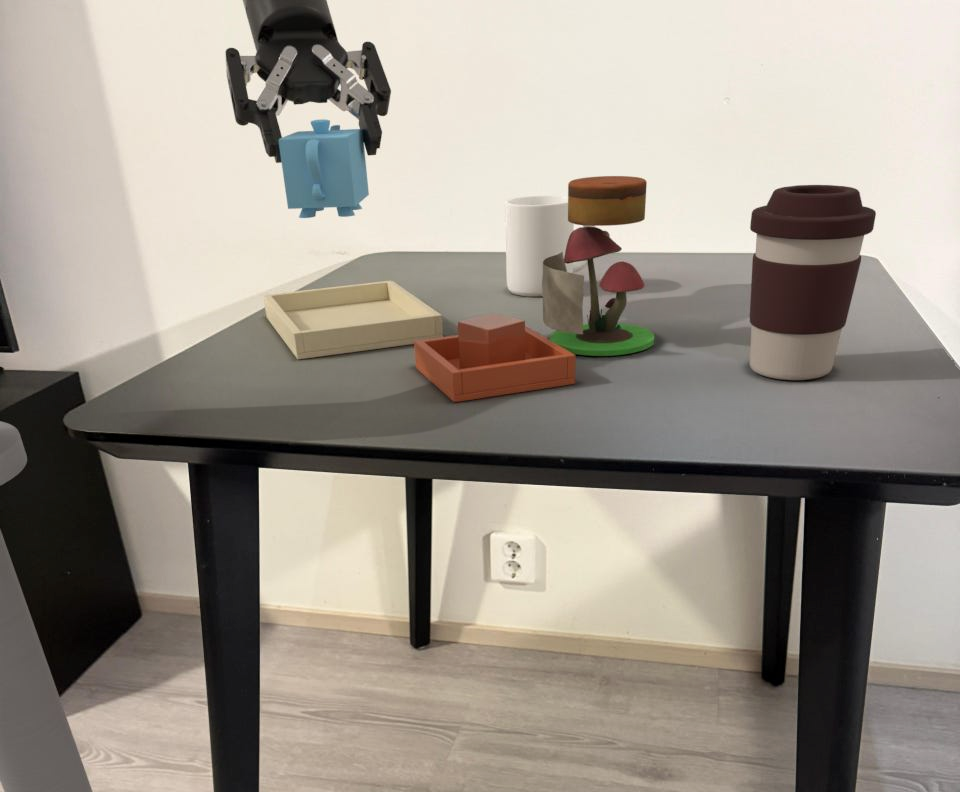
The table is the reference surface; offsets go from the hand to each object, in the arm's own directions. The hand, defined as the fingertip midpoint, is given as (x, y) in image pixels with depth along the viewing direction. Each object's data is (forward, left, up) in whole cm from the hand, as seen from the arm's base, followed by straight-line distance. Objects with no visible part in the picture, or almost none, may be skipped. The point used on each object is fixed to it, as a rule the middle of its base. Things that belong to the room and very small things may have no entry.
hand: (327, 152), depth 83 cm
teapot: (0, +1, -5) cm, 5 cm away
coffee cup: (+36, -23, -19) cm, 46 cm away
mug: (+31, +19, -19) cm, 41 cm away
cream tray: (+3, +12, -19) cm, 23 cm away
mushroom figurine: (+25, -6, -19) cm, 32 cm away
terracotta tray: (+11, -12, -19) cm, 24 cm away
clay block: (+11, -12, -18) cm, 24 cm away
